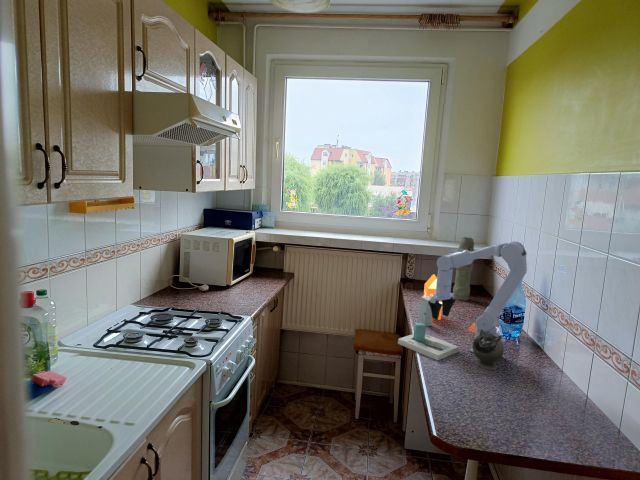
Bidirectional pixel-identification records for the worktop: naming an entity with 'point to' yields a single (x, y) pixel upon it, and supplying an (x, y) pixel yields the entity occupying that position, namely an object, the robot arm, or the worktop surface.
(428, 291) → the orange juice
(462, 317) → the worktop surface
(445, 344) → the white rectangular frame
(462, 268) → the thermos
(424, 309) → the skincare box
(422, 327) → the teal peg
